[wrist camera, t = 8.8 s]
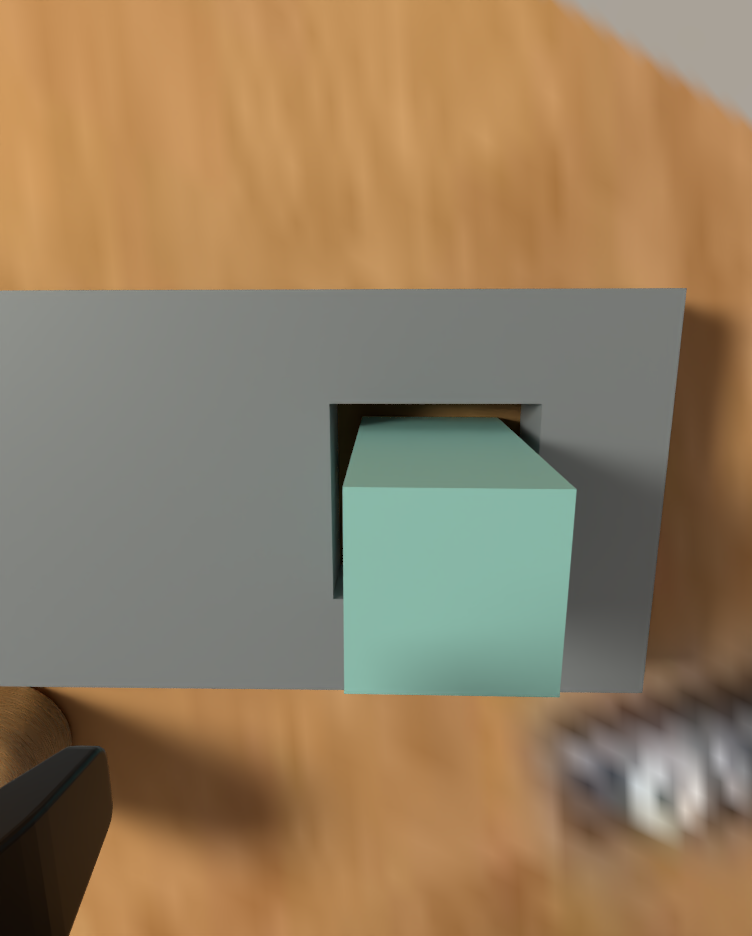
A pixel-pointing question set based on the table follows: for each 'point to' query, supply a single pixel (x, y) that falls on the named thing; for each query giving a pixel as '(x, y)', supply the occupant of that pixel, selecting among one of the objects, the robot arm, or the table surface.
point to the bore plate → (297, 467)
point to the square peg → (453, 560)
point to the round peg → (28, 730)
